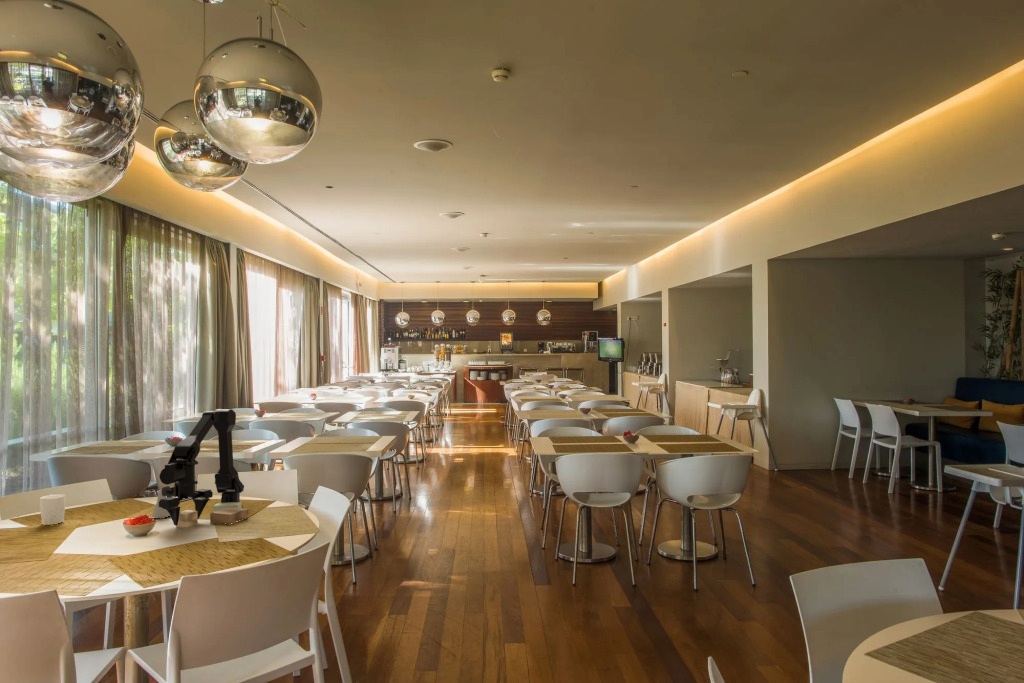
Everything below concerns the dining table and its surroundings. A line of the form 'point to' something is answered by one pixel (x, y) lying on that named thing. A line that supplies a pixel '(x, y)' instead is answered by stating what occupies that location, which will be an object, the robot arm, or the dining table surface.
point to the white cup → (52, 508)
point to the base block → (228, 515)
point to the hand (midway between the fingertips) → (186, 522)
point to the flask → (160, 508)
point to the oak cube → (187, 518)
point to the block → (227, 505)
